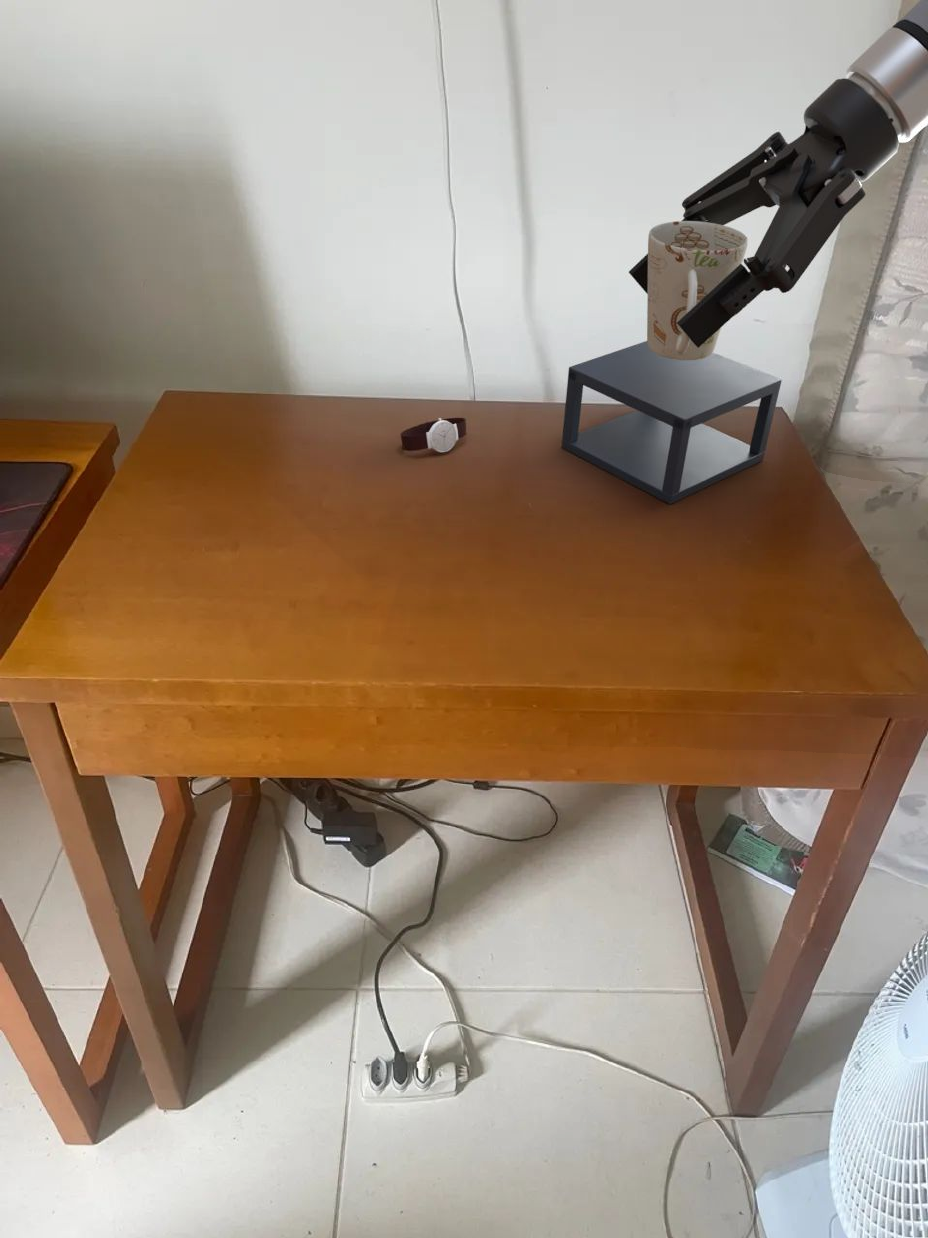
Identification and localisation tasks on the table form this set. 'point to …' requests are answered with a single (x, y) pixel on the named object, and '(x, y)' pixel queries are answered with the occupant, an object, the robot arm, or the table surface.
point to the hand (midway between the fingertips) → (661, 308)
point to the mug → (686, 280)
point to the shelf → (668, 419)
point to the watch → (434, 435)
